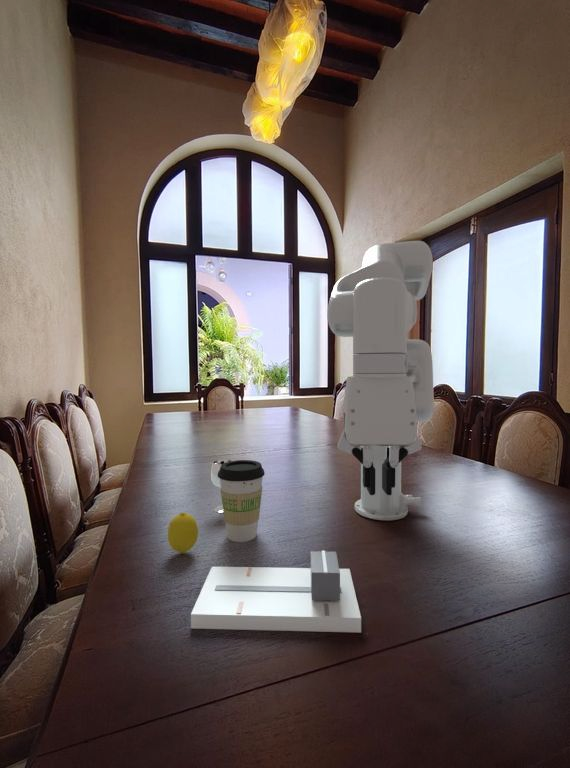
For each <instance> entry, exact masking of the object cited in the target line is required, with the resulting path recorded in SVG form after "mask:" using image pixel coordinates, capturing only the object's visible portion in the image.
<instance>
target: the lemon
mask: <svg viewBox="0 0 570 768" xmlns="http://www.w3.org/2000/svg"><path fill="white" fill-rule="evenodd" d="M198 535H199V529H198V523H197V521H196V519H195V517H194V516H193V515H191V514H189V513H186V512H185V511H183V512H182V511H181V512H180V513H178V514H177V515H175V516H174V517H173V518H172V520H171V521H170V522H169V526H168V530H167V540H168V544H169V546H170V548H171V549H173V550H174V551H175V552H178V553H180V554H182V555H184V554H186V553H187V552H188V551H190V550H192V548H193V547H194V546H195V545H196V543H197V541H198V537H199V536H198Z"/></svg>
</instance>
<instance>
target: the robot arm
mask: <svg viewBox="0 0 570 768" xmlns="http://www.w3.org/2000/svg"><path fill="white" fill-rule="evenodd" d="M361 262H362V263H361V266H360V267H361V268H358V269H357V270H355V271H353V272H351V273H348V274H346V275H344V276H343V277H341V278H340V279H339V280H337V282H336V283H335V284H334V285H333V289H332V291H331V294H330V297H329V301H328V306H327V323H328V326H329V328H330V330H331V332H332V333H333V334H334V335H335V336H337V337H343V338H348V337H349V338H351V337H352V375H351V376H347V379H346V381H345V382H346V383H345V387H344V388H345V389H344V397H343V398H344V399H343V411H342V414H343V415H342V432H341V435H340V437H339V440H338V442H337V448H338V450H339V451H342V452H343V453H346V454H350V455H351V456H354V458H356V460H357V461H359V463H360V499H358V500H357V501H355V503H354V510H355V512H356V513H357V514H359V515H360V516H362V517H364V518H368V519H372V520H376V521H396V520H400V519H403V518H405V517H406V516H407V515H408V511H409V510H408V507H409V506H422V504H423V500H422V497H420V496H419V497H418V496H416V497H415V496H413V494H404V493H402V461H403V460H404V459H405V458H406V457H407V456H408V455H411V454H414V453H417V452H419V451H421V450H422V448H423V447H422V444H421V441H420V439H419V436H418V423H426V422H428V421H430V420H431V419H432V418H433V416H434V415H433V414H434V410H435V409H434V408H435V398H434V397H435V396H434V395H435V394H434V393H435V392H434V373H433V372H434V369H433V354H432V350H431V347H430V344H429V343H428V342H426V341H425V340H424V339H423V340H422V339H414V338H413V339H408V335H407V334H408V333H410V331H411V330H412V328H413V326H415V325H416V323H417V321H418V320H417V319H418V302H417V301H420V300H423V298H424V297H425V295H426V294H427V290H428V287H429V283H430V280H431V277H432V272H433V262H434V261H433V254H432V250H431V248H430V247H429V245H428V244H427V243H426V242H425V241H422V240H411V241H410V240H409V241H395V242H388V243H380V244H379V243H378V244H376V245H373V246H372V247H370V248H368V250H367V251H366V252H365V253H364V255H363V259H362V261H361ZM358 446H359V447H358Z"/></svg>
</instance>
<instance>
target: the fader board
mask: <svg viewBox="0 0 570 768" xmlns="http://www.w3.org/2000/svg"><path fill="white" fill-rule="evenodd" d="M339 571H340V600H312V596H311V567H270V566H269V567H266V566H264V567H263V566H262V567H261V566H260V567H259V566H258V567H257V566H256V567H255V566H253V567H252V566H211V568H210V570H209V572H208V574H207V576H206V579H205V582H204V584H203V586H202V588H201V590H200V593H199V595H198V598H197V599H196V602H195V604H194V606H193V608H192V611H191V613H190V628H191V629H193V630H195V629H203V630H204V629H205V630H237V631H238V630H242V631H243V630H244V631H246V630H247V631H249V630H250V631H276V632H277V631H282V632H287V631H289V632H319V633H320V632H322V633H323V632H324V633H326V632H327V633H329V632H330V633H362V616H361V611H360V608H359V603H358V600H357V599H358V598H357V596H356V590H355V587H354V582H353V579H352V573H351V570H350V568H339Z"/></svg>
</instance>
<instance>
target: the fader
mask: <svg viewBox="0 0 570 768" xmlns="http://www.w3.org/2000/svg"><path fill="white" fill-rule="evenodd" d="M338 561H339V560H338V556H337V551H326V550H321V551H311V550H310V568H311V596H312V600H340V571H339V569H340V567H339V562H338Z"/></svg>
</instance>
